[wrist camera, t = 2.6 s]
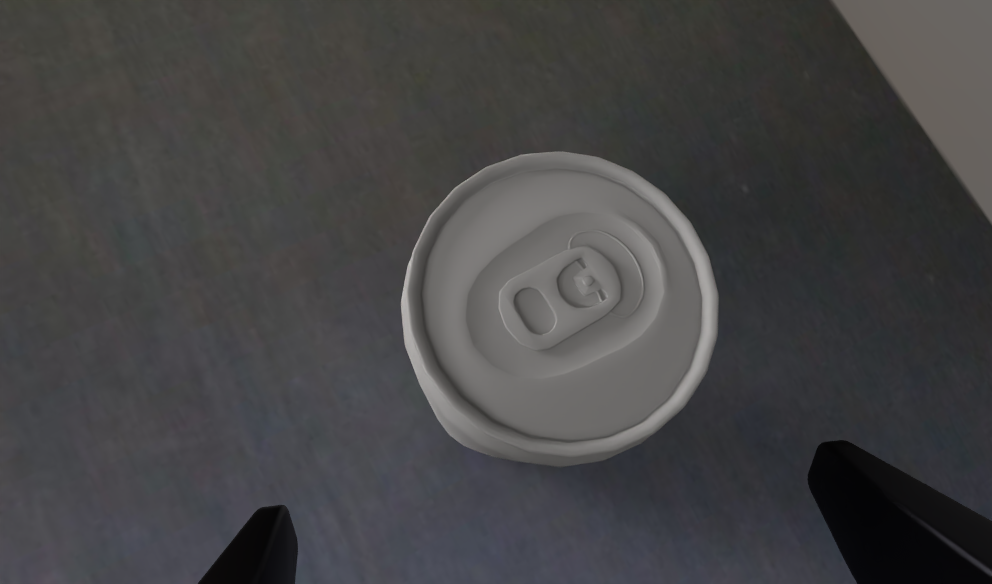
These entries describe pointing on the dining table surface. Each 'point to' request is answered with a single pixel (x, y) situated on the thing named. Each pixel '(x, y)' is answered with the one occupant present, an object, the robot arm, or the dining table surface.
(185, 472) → the dining table surface
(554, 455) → the beverage can
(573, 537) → the dining table surface
